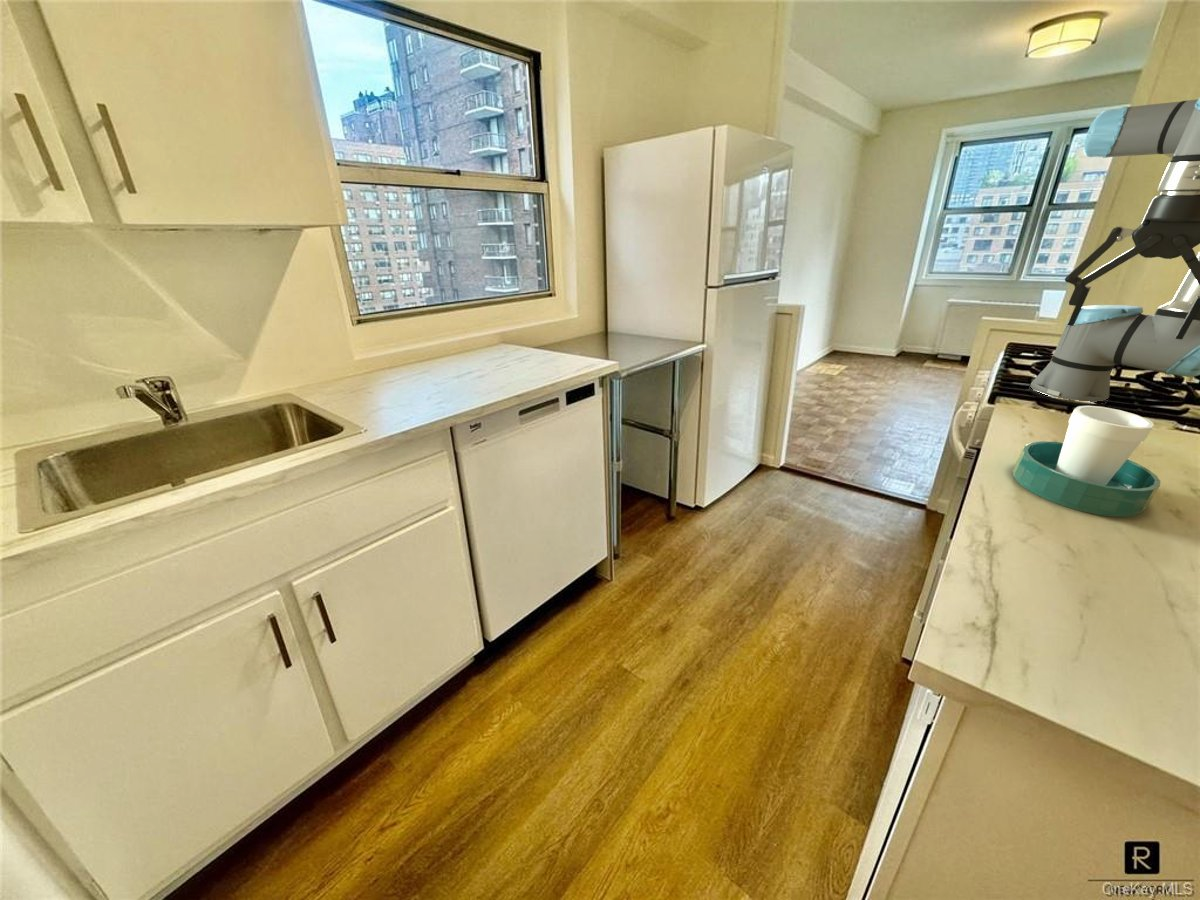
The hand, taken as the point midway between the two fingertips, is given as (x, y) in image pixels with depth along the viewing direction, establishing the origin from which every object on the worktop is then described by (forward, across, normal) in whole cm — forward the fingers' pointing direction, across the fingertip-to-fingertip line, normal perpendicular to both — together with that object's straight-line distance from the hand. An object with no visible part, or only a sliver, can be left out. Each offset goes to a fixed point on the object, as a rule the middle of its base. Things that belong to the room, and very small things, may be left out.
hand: (1122, 330), depth 85 cm
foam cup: (+24, +4, -15) cm, 28 cm away
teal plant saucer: (+25, +4, -15) cm, 29 cm away
